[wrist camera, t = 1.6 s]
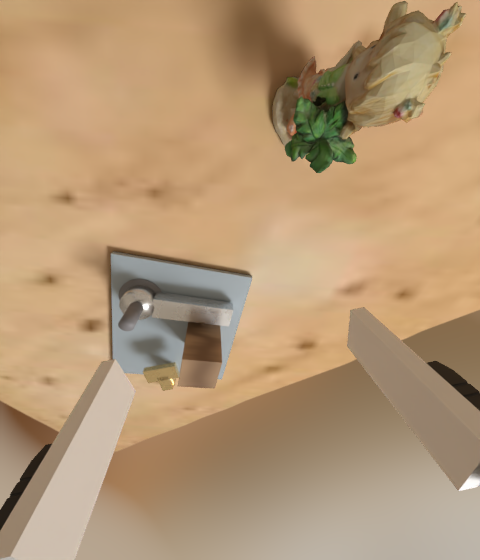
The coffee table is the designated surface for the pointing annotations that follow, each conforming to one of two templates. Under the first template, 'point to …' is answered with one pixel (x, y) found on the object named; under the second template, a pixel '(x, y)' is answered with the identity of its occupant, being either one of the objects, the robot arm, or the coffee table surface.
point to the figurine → (364, 87)
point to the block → (201, 356)
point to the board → (164, 332)
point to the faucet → (177, 306)
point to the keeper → (162, 375)
